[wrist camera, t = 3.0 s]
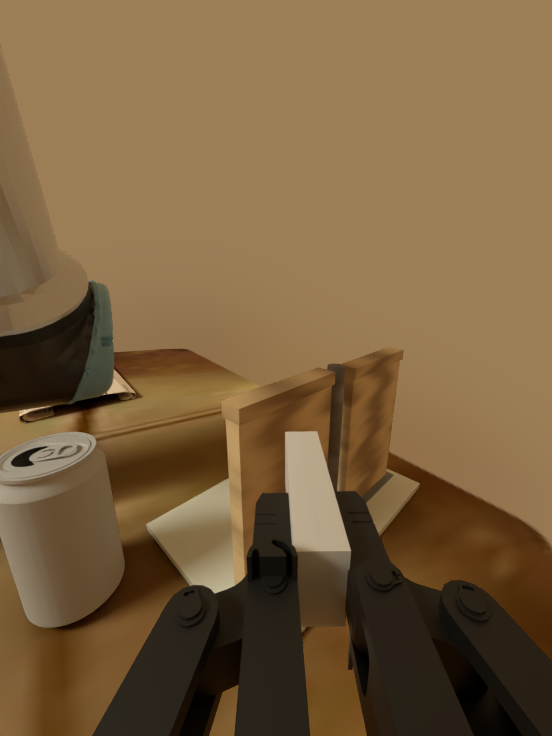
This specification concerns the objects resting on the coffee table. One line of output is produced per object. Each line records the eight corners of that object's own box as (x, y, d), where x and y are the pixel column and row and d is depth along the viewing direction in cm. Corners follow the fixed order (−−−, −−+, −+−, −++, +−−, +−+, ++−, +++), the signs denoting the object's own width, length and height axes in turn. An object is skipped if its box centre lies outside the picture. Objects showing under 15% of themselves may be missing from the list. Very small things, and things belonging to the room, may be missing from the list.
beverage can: (49, 563, 25) (12, 434, 22) (132, 545, 27) (110, 423, 24) (8, 649, 20) (-51, 493, 16) (118, 619, 21) (87, 472, 18)
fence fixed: (344, 517, 29) (356, 368, 25) (330, 509, 30) (339, 364, 26) (387, 474, 36) (403, 349, 31) (375, 469, 37) (388, 347, 32)
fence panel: (324, 511, 30) (333, 362, 25) (338, 520, 29) (350, 366, 24) (232, 593, 22) (221, 400, 18) (246, 609, 21) (238, 409, 17)
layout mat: (147, 529, 29) (146, 523, 29) (307, 437, 45) (307, 432, 45) (262, 681, 18) (262, 673, 18) (419, 487, 34) (419, 482, 34)
